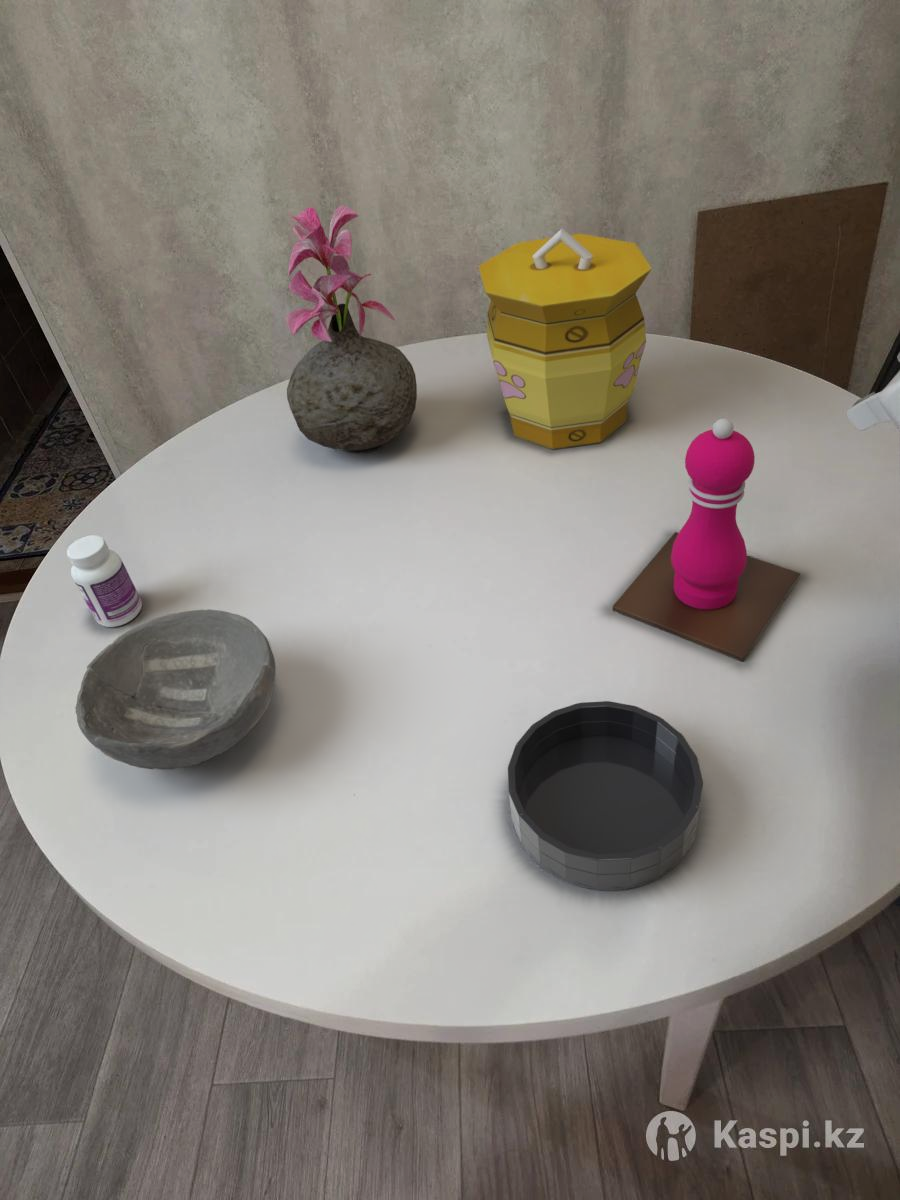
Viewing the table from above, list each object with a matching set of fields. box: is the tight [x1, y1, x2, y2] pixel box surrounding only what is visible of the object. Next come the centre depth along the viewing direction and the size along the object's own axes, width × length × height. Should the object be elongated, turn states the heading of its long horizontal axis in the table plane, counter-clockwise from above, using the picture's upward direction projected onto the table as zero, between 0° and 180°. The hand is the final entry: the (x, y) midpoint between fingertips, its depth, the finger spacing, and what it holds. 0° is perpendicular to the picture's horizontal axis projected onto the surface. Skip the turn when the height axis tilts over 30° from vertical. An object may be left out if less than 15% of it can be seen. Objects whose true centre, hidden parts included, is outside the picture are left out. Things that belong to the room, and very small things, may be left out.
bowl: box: [74, 608, 276, 771], centre depth 81 cm, size 18×18×8 cm
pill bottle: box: [66, 534, 143, 628], centre depth 94 cm, size 5×5×10 cm
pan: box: [507, 700, 704, 891], centre depth 70 cm, size 15×15×4 cm
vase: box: [285, 205, 418, 454], centre depth 109 cm, size 17×17×30 cm
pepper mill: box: [671, 418, 756, 610], centre depth 82 cm, size 7×7×20 cm
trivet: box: [611, 531, 801, 662], centre depth 89 cm, size 14×14×1 cm
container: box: [478, 227, 653, 451], centre depth 109 cm, size 21×21×25 cm
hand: (880, 388), depth 63 cm, fingers open, 8 cm apart
